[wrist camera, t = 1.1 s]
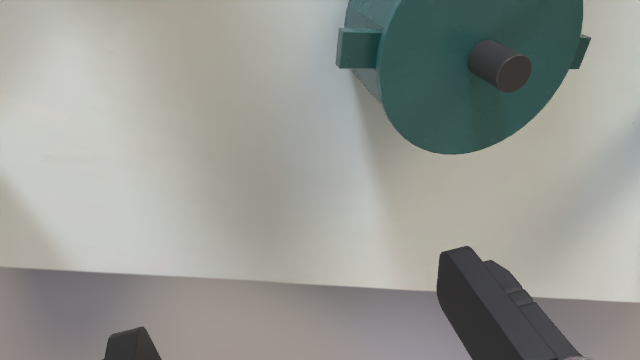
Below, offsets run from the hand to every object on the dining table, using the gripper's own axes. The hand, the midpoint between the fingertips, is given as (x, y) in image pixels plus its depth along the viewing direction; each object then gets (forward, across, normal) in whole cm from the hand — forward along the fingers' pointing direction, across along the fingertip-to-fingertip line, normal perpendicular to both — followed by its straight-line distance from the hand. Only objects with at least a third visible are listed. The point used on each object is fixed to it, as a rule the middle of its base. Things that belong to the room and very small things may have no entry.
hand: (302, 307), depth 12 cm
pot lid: (+18, -16, +1) cm, 24 cm away
